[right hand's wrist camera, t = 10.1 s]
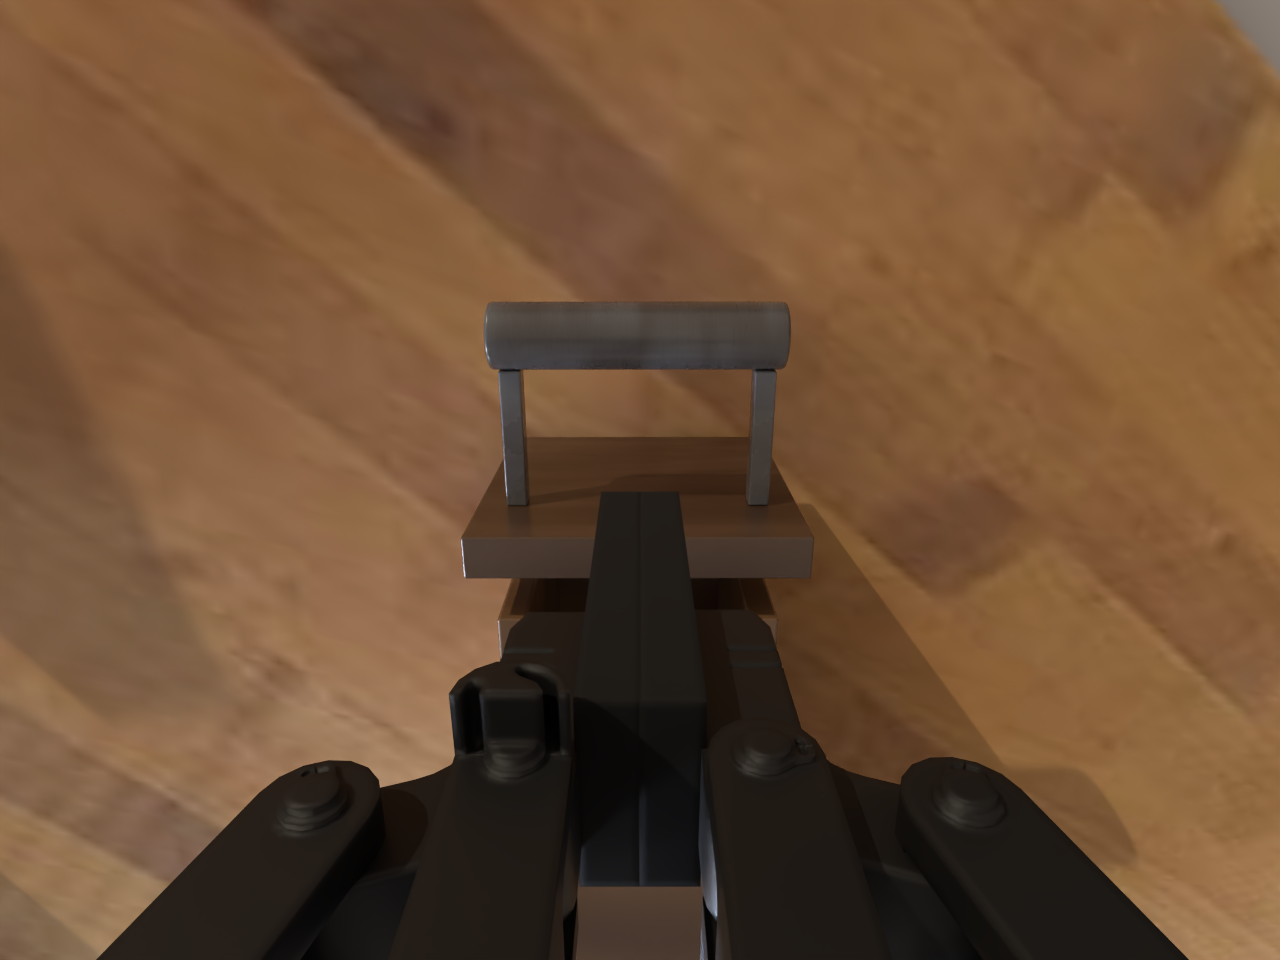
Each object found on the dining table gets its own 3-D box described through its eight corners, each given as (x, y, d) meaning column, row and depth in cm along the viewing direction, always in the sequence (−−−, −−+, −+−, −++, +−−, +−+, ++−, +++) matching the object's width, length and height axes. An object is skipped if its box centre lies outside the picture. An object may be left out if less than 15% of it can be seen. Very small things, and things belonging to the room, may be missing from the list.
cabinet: (515, 624, 32) (456, 822, 22) (761, 624, 32) (819, 822, 22) (536, 952, 38) (498, 1224, 28) (741, 952, 38) (778, 1224, 28)
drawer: (505, 279, 26) (440, 314, 18) (770, 278, 26) (833, 314, 18) (537, 816, 34) (503, 1018, 26) (740, 816, 34) (773, 1018, 26)
